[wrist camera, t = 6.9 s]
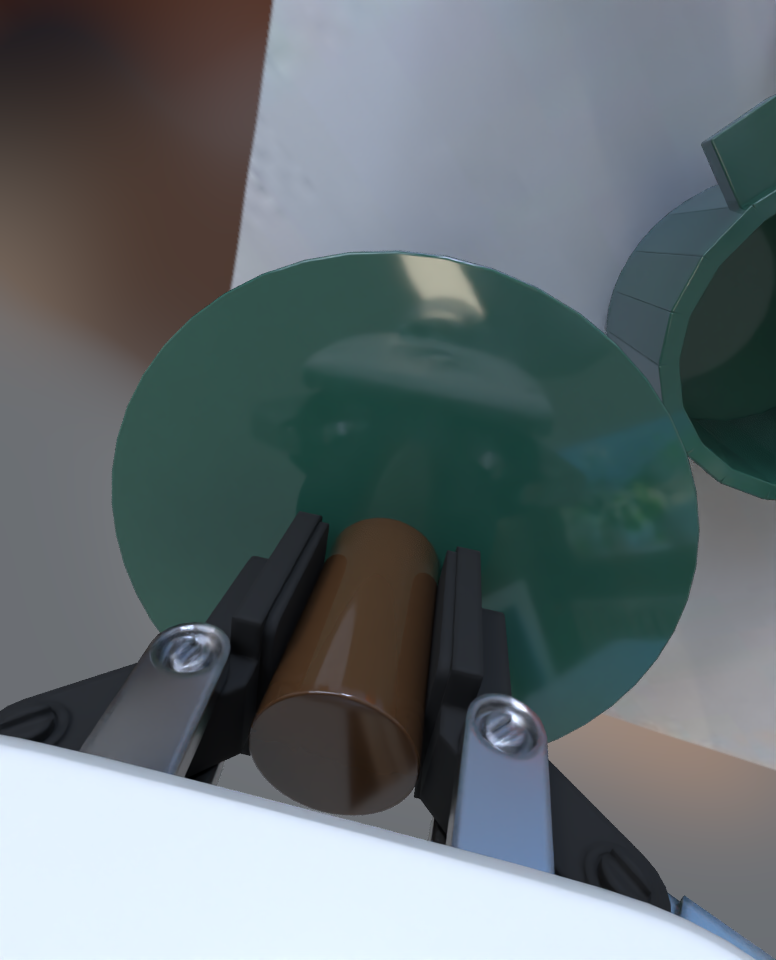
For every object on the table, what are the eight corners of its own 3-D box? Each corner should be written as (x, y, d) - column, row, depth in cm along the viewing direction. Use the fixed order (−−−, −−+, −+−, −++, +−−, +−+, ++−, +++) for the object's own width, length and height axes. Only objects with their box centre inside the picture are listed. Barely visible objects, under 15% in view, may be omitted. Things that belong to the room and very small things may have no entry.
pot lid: (483, 83, 10) (500, -157, 4) (775, 627, 14) (1012, 929, 8) (36, 461, 15) (-258, 611, 9) (341, 783, 19) (279, 1039, 13)
